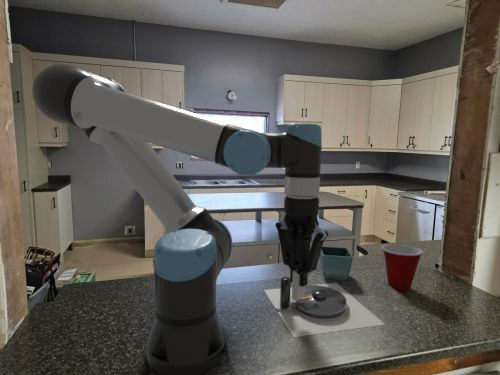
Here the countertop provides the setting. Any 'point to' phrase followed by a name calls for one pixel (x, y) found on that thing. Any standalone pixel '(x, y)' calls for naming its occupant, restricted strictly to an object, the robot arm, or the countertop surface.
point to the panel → (309, 325)
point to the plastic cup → (401, 265)
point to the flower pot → (335, 262)
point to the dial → (314, 300)
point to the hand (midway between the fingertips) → (298, 297)
